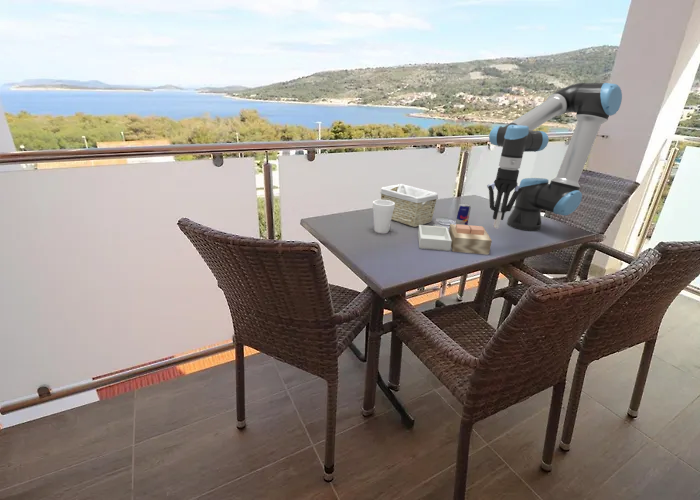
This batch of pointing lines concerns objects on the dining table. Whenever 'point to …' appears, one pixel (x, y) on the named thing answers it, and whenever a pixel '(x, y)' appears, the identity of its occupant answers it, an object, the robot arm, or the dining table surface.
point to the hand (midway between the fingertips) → (496, 227)
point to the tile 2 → (476, 230)
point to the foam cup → (382, 215)
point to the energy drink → (463, 214)
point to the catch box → (434, 238)
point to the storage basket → (410, 204)
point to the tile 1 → (462, 229)
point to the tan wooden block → (469, 242)
